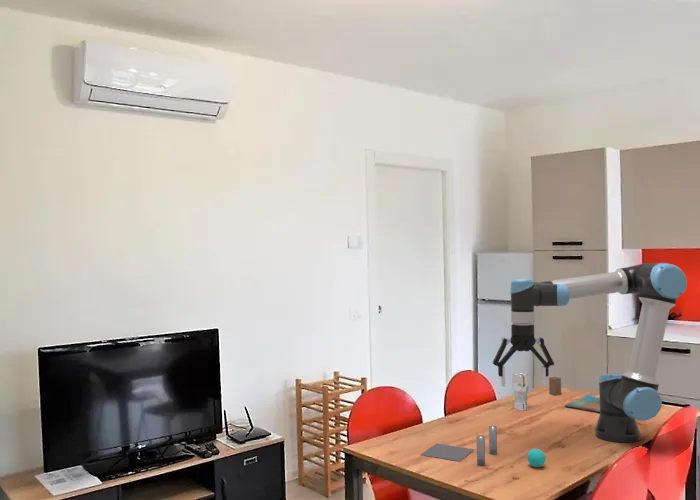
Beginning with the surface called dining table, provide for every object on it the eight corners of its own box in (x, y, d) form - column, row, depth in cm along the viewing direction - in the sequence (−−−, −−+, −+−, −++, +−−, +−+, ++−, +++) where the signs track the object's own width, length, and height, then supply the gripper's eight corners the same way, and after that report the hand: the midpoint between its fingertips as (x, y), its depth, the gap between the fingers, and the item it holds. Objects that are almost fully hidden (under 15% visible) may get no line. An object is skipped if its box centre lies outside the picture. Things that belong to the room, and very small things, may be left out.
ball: (547, 465, 196) (547, 448, 196) (543, 470, 191) (543, 453, 191) (530, 462, 198) (529, 445, 198) (525, 467, 194) (525, 450, 194)
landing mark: (474, 449, 212) (474, 449, 212) (459, 461, 200) (459, 461, 200) (436, 444, 219) (436, 443, 219) (420, 455, 207) (420, 454, 207)
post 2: (498, 452, 209) (497, 426, 209) (495, 455, 206) (495, 428, 206) (490, 451, 210) (490, 425, 210) (488, 453, 208) (487, 427, 208)
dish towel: (624, 405, 274) (624, 399, 274) (602, 415, 257) (602, 409, 257) (587, 399, 286) (586, 394, 286) (563, 409, 269) (563, 403, 269)
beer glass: (520, 411, 263) (520, 376, 263) (509, 408, 269) (508, 373, 270) (532, 409, 266) (532, 374, 267) (521, 406, 273) (520, 372, 273)
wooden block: (555, 393, 297) (554, 376, 297) (561, 394, 294) (561, 377, 294) (549, 394, 295) (548, 377, 295) (555, 395, 292) (555, 378, 292)
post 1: (486, 463, 198) (485, 435, 198) (483, 466, 196) (483, 438, 196) (478, 462, 199) (478, 434, 199) (475, 465, 197) (475, 436, 197)
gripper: (556, 322, 213) (557, 383, 213) (483, 322, 214) (484, 383, 214) (562, 324, 206) (563, 388, 205) (487, 325, 207) (488, 388, 207)
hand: (523, 386), depth 210 cm, fingers open, 13 cm apart
